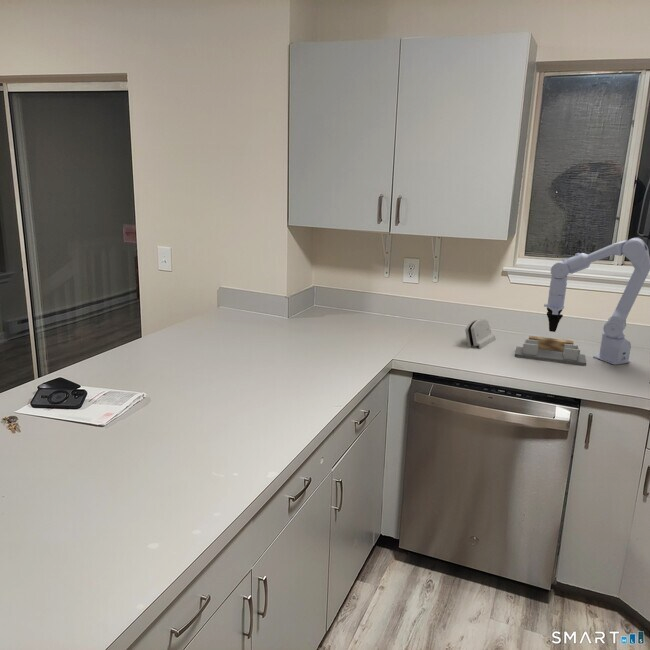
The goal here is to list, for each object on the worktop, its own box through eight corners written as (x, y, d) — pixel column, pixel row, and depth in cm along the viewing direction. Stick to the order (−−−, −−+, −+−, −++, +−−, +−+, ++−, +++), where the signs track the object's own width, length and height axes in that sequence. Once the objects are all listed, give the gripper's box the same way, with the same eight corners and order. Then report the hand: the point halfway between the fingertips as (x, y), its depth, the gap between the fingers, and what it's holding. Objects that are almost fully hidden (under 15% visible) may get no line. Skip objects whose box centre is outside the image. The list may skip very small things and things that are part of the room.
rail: (571, 350, 224) (573, 340, 223) (572, 353, 221) (573, 343, 220) (527, 345, 229) (529, 335, 228) (527, 347, 226) (528, 337, 225)
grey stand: (480, 349, 222) (474, 323, 221) (468, 350, 225) (462, 325, 224) (496, 339, 235) (490, 315, 234) (485, 341, 238) (479, 317, 237)
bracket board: (584, 357, 215) (586, 344, 214) (586, 365, 206) (587, 352, 205) (516, 348, 223) (517, 336, 222) (514, 356, 214) (516, 344, 213)
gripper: (545, 289, 227) (541, 322, 231) (545, 296, 214) (540, 332, 217) (565, 291, 225) (560, 325, 228) (566, 298, 211) (561, 334, 215)
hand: (552, 328), depth 223 cm, fingers open, 7 cm apart
